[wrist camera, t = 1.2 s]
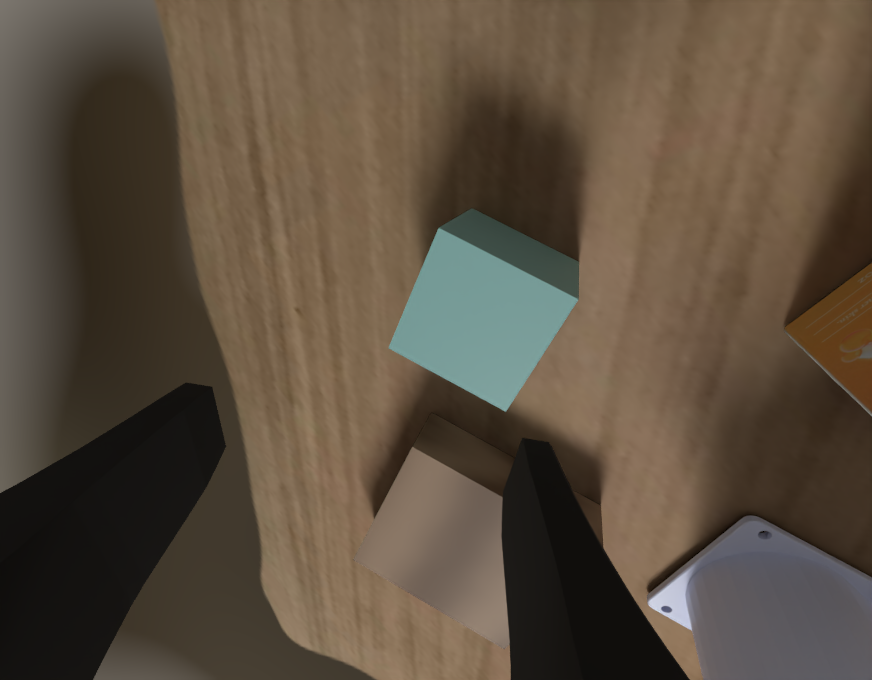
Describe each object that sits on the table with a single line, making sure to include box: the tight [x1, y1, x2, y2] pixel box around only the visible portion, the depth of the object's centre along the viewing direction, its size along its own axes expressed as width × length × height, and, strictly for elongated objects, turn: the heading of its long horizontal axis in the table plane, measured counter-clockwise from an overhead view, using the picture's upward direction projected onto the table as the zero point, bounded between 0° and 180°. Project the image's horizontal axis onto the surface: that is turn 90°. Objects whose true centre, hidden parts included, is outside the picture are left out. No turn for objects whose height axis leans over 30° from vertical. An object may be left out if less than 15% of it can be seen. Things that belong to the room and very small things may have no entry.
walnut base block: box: [353, 413, 603, 649], centre depth 24 cm, size 10×10×3 cm
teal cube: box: [389, 208, 579, 412], centre depth 17 cm, size 5×5×5 cm
